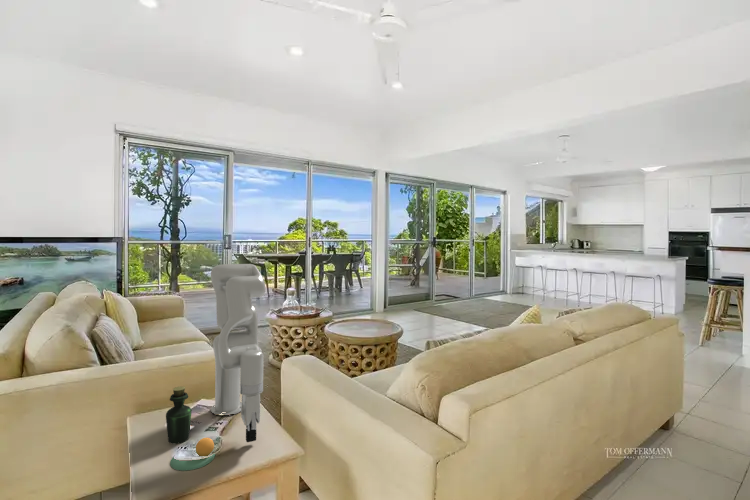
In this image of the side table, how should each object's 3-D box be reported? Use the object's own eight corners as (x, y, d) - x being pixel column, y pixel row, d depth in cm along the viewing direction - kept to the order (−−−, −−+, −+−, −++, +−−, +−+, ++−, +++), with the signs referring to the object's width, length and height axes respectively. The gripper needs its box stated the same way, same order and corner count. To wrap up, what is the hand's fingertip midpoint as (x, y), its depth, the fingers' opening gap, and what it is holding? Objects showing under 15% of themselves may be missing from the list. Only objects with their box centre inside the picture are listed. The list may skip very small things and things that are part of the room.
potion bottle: (196, 438, 138) (196, 387, 137) (173, 448, 131) (174, 394, 130) (183, 431, 142) (183, 382, 142) (160, 440, 135) (161, 389, 135)
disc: (170, 453, 128) (170, 452, 128) (213, 444, 134) (213, 443, 134) (169, 474, 116) (169, 474, 116) (216, 464, 122) (216, 463, 122)
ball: (194, 450, 128) (197, 434, 128) (211, 450, 130) (215, 434, 130) (193, 460, 123) (197, 443, 123) (212, 460, 125) (215, 443, 125)
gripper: (237, 381, 138) (236, 432, 139) (243, 397, 125) (242, 453, 125) (258, 378, 142) (258, 428, 142) (267, 393, 128) (266, 448, 129)
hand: (251, 440), depth 134 cm, fingers closed
